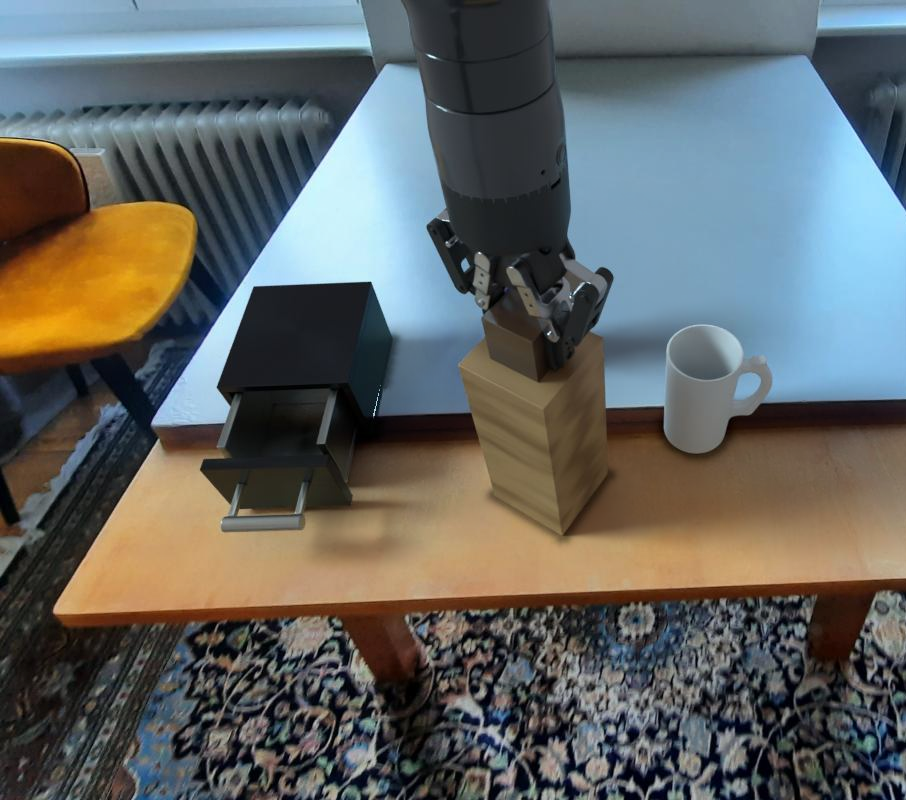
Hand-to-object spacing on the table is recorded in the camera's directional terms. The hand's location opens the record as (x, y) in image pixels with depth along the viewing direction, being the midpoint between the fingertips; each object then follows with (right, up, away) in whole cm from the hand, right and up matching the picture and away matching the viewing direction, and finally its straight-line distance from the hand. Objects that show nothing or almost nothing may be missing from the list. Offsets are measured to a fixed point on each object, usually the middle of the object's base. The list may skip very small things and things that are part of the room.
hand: (531, 348), depth 55 cm
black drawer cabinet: (-24, -3, +25) cm, 35 cm away
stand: (+1, -12, +16) cm, 20 cm away
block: (0, 0, 0) cm, 0 cm away
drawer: (-24, -11, +17) cm, 32 cm away
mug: (+17, -7, +19) cm, 27 cm away
